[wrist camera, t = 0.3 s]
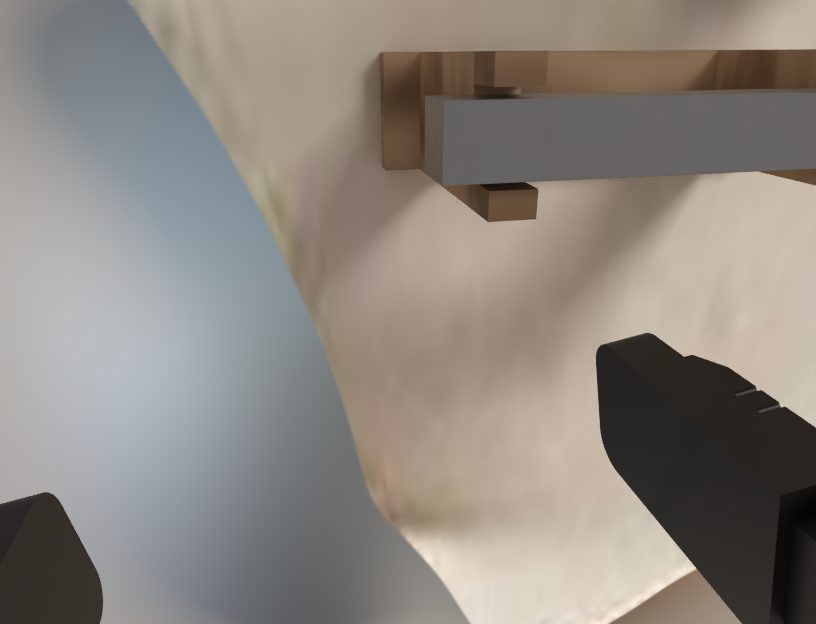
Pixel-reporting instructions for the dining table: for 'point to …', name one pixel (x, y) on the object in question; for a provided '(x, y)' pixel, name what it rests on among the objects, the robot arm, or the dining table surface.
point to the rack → (562, 73)
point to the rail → (617, 134)
